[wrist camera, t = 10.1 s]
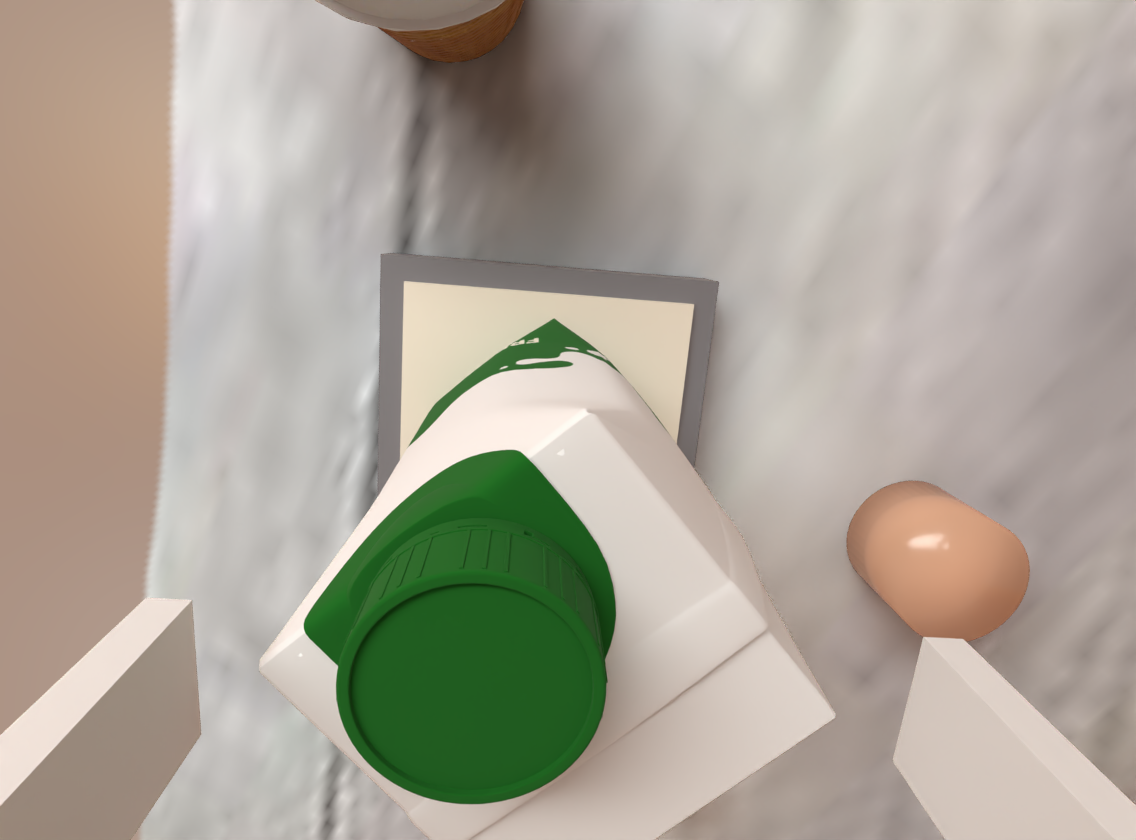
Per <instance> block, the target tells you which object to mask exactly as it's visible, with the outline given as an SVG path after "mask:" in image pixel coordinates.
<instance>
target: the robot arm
mask: <svg viewBox="0 0 1136 840" xmlns="http://www.w3.org/2000/svg"><path fill="white" fill-rule="evenodd" d="M200 735H201V723H200V709H199V694H198V680H197V665H196V651H195V636H194V622H193V607H192V600H181V599H161V598H145V599H144V600H143V601H142V602H141V603H140V604H139V605H138V606H137V607H136V608H135V609H134V610H133V611H132V612H131V613H130V614H129V615H127V617H125V618H124V619H123V620H122V621H121V622H120V623H119V624H118V625H117V626H116V627H115V628H114V629H113V630H112V631H110V632H109V633H108V634H107V635H106V636H105V637H104V638H103V639H102V640H101V641H100V642H99V643H98V644H97V645H96V646H95V647H94V648H92V649H91V650H90V651H89V652H88V653H87V654H86V655H85V656H84V657H83V658H82V659H81V660H80V661H79V662H78V663H77V664H75V665H74V666H73V667H72V668H71V669H70V670H69V671H68V672H67V673H66V674H65V675H64V676H63V677H62V678H61V679H59V680H58V681H57V682H56V683H55V684H54V685H53V686H52V687H51V688H50V689H49V690H48V691H47V692H46V693H45V694H44V695H43V696H42V697H41V698H39V699H38V700H37V701H36V702H35V703H34V704H33V705H32V706H31V707H30V708H29V709H28V710H27V711H26V712H25V713H24V714H22V715H21V716H20V717H19V718H18V719H17V720H16V721H15V722H14V723H13V724H12V725H11V726H10V727H9V728H8V729H6V730H5V731H4V732H3V733H2V734H1V735H0V840H131V839H132V837H133V836H134V834H135V833H136V831H137V830H138V828H139V827H140V825H141V824H142V822H143V821H144V819H145V818H146V816H147V815H148V813H149V812H150V810H151V809H152V807H153V806H154V804H155V803H156V801H157V800H158V798H159V797H160V795H161V794H162V792H163V791H164V789H165V788H166V786H167V785H168V783H169V782H170V780H171V779H172V777H173V776H174V774H175V773H176V771H177V770H178V768H179V767H180V765H181V764H182V762H183V761H184V759H185V758H186V756H187V755H188V753H189V752H190V750H191V749H192V747H193V746H194V744H195V743H196V741H197V740H198V738H199V737H200ZM893 762H894V764H895V765H896V767H897V768H898V770H899V771H900V773H901V774H902V776H903V777H904V779H905V780H906V782H907V783H908V785H909V786H910V788H911V789H912V791H913V792H914V794H915V795H916V797H917V798H918V800H919V801H920V803H921V804H922V806H923V807H924V809H925V810H926V812H927V813H928V815H929V816H930V818H931V819H932V821H933V822H934V824H935V825H936V827H937V828H938V830H939V831H940V833H941V834H942V836H943V837H944V839H945V840H1136V805H1135V804H1134V803H1133V802H1132V801H1131V800H1130V799H1128V798H1127V797H1126V796H1125V795H1124V794H1123V793H1122V792H1121V791H1120V790H1119V789H1118V788H1117V787H1116V786H1115V785H1114V784H1113V783H1112V782H1111V781H1110V780H1109V779H1108V778H1107V777H1106V776H1105V775H1104V774H1103V773H1102V772H1101V771H1099V770H1098V769H1097V768H1096V767H1095V766H1094V765H1093V764H1092V763H1091V762H1090V761H1089V760H1088V759H1087V758H1086V757H1085V756H1084V755H1083V754H1082V753H1081V752H1080V751H1079V750H1078V749H1077V748H1076V747H1075V746H1074V745H1073V744H1071V743H1070V742H1069V741H1068V740H1067V739H1066V738H1065V737H1064V736H1063V735H1062V734H1061V733H1060V732H1059V731H1058V730H1057V729H1056V728H1055V727H1054V726H1053V725H1052V724H1051V723H1050V722H1049V721H1048V720H1047V719H1046V718H1045V717H1044V716H1042V715H1041V714H1040V713H1039V712H1038V711H1037V710H1036V709H1035V708H1034V707H1033V706H1032V705H1031V704H1030V703H1029V702H1028V701H1027V700H1026V699H1025V698H1024V697H1023V696H1022V695H1021V694H1020V693H1019V692H1018V691H1017V690H1016V689H1015V688H1013V687H1012V686H1011V685H1010V684H1009V683H1008V682H1007V681H1006V680H1005V679H1004V678H1003V677H1002V676H1001V675H1000V674H999V673H998V672H997V671H996V670H995V669H994V668H993V667H992V666H991V665H990V664H989V663H988V662H987V661H986V660H984V659H983V658H982V657H981V656H980V655H979V654H978V653H977V652H976V651H975V650H974V649H973V648H972V647H971V646H970V645H969V644H968V643H967V642H966V641H965V640H964V639H955V638H935V637H923V641H922V645H921V649H920V653H919V657H918V661H917V665H916V669H915V673H914V677H913V681H912V685H911V689H910V693H909V697H908V701H907V705H906V709H905V713H904V717H903V721H902V725H901V729H900V733H899V737H898V741H897V745H896V749H895V753H894V757H893Z"/></svg>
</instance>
